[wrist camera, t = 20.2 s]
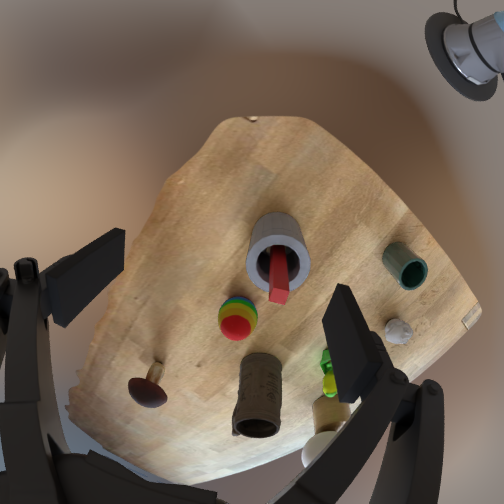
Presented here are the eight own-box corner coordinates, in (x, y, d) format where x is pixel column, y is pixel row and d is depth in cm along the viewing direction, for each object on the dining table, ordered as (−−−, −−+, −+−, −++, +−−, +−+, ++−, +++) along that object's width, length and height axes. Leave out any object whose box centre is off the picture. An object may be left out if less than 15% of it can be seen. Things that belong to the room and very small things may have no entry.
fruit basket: (355, 366, 64) (364, 397, 54) (324, 377, 66) (330, 409, 55) (345, 337, 61) (355, 370, 50) (311, 350, 63) (316, 384, 52)
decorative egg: (258, 322, 60) (256, 352, 51) (223, 321, 61) (215, 350, 52) (258, 291, 57) (255, 319, 48) (220, 290, 58) (210, 317, 49)
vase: (259, 206, 51) (255, 226, 38) (307, 219, 51) (319, 244, 38) (247, 251, 54) (239, 284, 41) (292, 263, 54) (298, 299, 41)
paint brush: (270, 226, 51) (269, 281, 31) (287, 231, 51) (296, 288, 31) (266, 242, 53) (262, 304, 32) (282, 246, 53) (287, 310, 32)
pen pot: (389, 238, 51) (407, 254, 42) (413, 246, 51) (432, 263, 43) (377, 266, 53) (393, 286, 45) (401, 273, 53) (418, 293, 45)
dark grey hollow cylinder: (253, 344, 63) (242, 413, 45) (291, 359, 64) (290, 427, 46) (228, 376, 69) (214, 437, 51) (262, 389, 70) (255, 449, 52)
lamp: (301, 420, 74) (304, 486, 51) (296, 396, 70) (299, 471, 46) (347, 412, 72) (359, 476, 49) (348, 387, 67) (364, 459, 44)
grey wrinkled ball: (402, 329, 59) (412, 347, 53) (378, 334, 60) (386, 353, 53) (406, 310, 57) (417, 327, 50) (381, 315, 58) (390, 332, 51)
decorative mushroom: (141, 346, 67) (119, 384, 53) (178, 357, 67) (161, 398, 53) (143, 372, 71) (125, 408, 57) (178, 382, 71) (164, 421, 57)
